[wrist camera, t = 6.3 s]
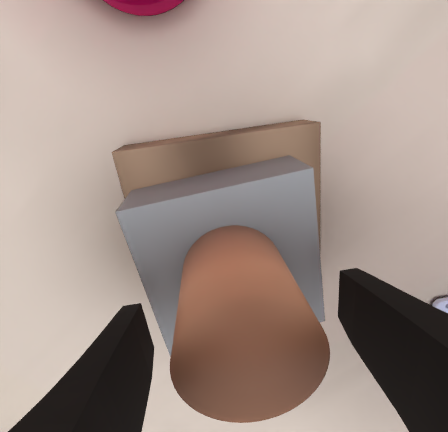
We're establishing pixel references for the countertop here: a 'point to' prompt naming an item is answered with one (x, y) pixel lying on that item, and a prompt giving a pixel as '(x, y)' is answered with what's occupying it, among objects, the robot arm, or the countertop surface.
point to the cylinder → (244, 330)
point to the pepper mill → (144, 6)
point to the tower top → (219, 217)
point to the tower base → (218, 154)
